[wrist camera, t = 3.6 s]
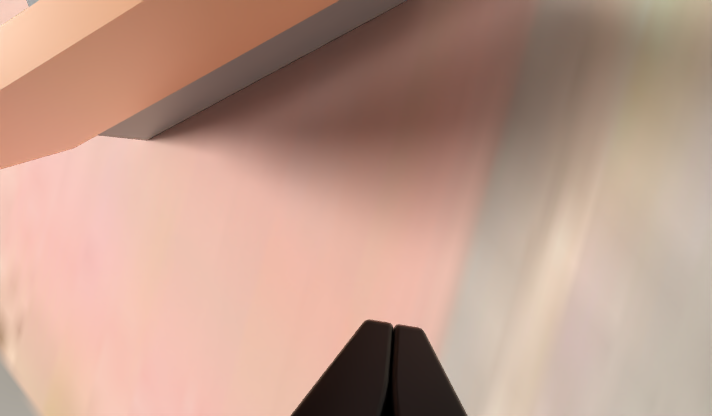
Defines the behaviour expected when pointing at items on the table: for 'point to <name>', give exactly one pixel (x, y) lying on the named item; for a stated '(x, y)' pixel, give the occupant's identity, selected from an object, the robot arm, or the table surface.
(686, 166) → the table surface
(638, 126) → the table surface
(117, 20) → the duct cover
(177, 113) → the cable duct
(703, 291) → the table surface
